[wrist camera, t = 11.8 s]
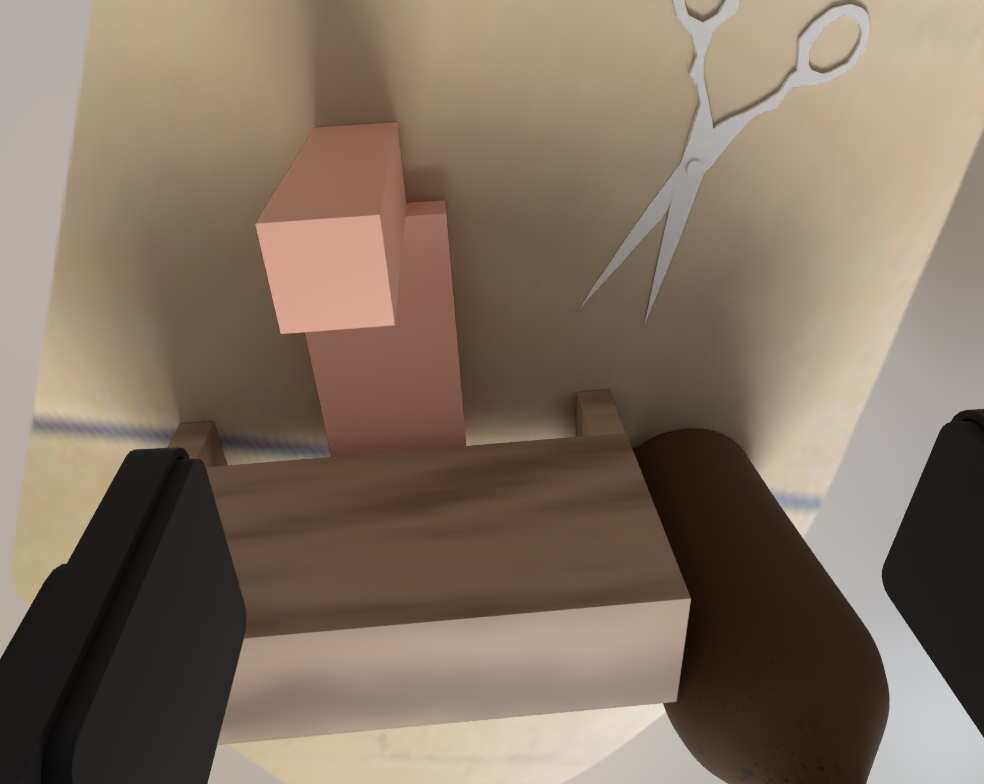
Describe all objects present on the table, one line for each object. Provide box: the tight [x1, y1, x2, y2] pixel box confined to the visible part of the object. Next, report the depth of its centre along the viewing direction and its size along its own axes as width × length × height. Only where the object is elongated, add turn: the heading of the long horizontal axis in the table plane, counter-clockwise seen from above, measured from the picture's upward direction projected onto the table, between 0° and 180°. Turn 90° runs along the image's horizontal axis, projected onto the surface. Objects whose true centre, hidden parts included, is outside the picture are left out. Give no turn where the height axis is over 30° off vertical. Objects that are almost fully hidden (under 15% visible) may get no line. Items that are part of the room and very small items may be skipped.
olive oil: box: [634, 429, 889, 784], centre depth 38 cm, size 11×11×25 cm
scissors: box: [580, 0, 870, 326], centre depth 37 cm, size 11×1×20 cm
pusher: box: [255, 122, 466, 457], centre depth 34 cm, size 19×8×14 cm, turn 3°
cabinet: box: [168, 390, 691, 745], centre depth 39 cm, size 8×26×17 cm, turn 93°
